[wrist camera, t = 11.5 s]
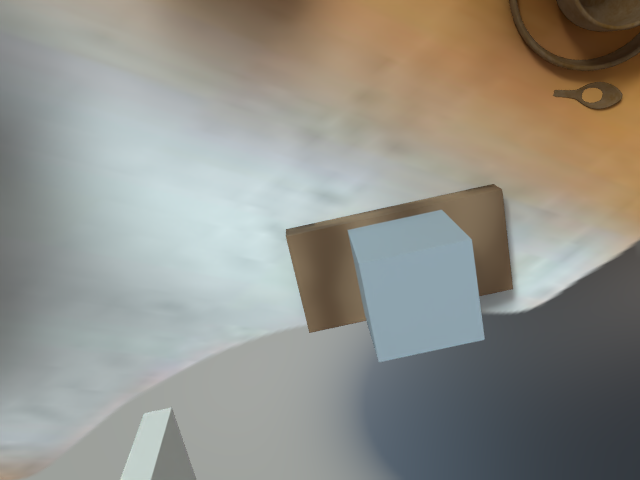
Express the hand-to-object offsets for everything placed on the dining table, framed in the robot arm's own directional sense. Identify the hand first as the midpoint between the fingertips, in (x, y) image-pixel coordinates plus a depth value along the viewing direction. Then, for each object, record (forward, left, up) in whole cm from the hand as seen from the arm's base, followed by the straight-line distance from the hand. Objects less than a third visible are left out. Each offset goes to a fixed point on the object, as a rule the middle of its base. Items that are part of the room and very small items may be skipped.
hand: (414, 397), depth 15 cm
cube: (+4, -7, -25) cm, 26 cm away
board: (+4, -7, -27) cm, 28 cm away
